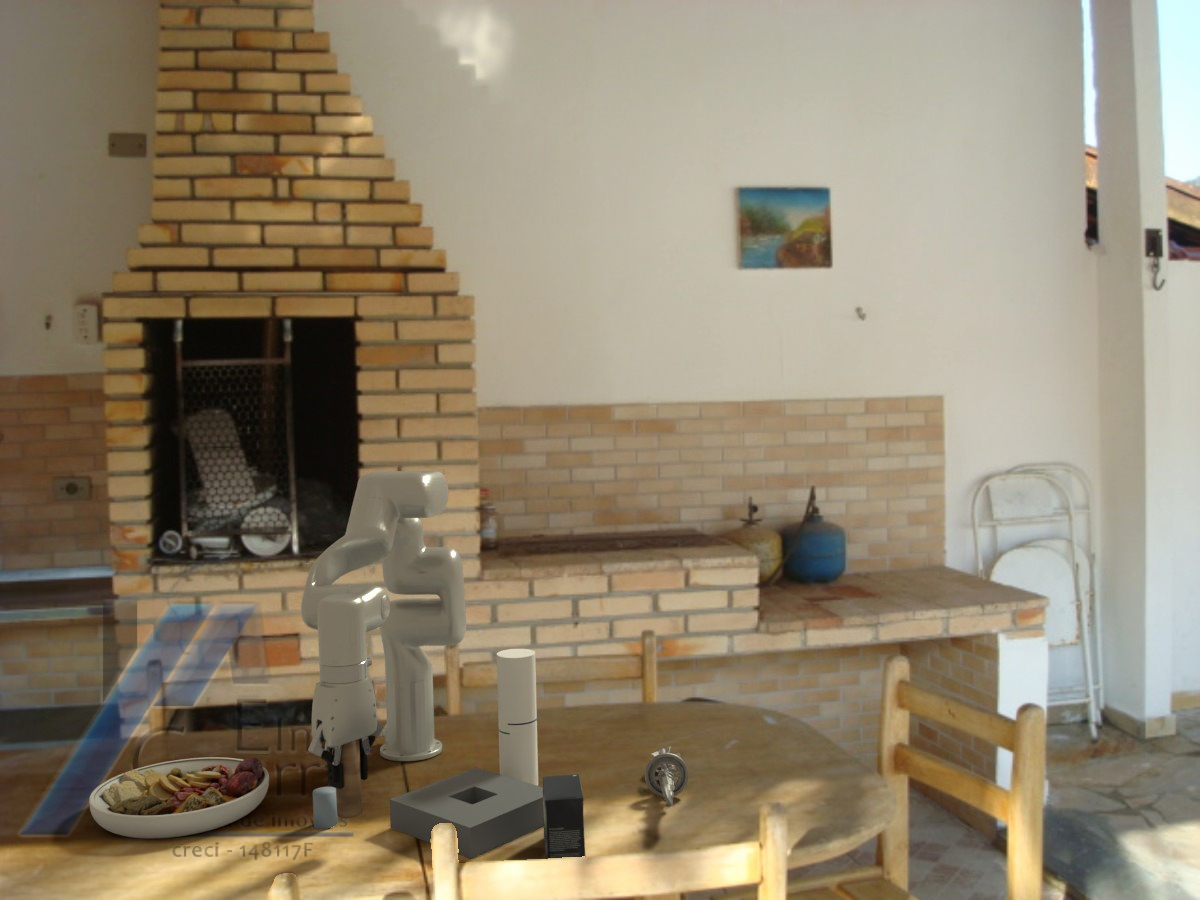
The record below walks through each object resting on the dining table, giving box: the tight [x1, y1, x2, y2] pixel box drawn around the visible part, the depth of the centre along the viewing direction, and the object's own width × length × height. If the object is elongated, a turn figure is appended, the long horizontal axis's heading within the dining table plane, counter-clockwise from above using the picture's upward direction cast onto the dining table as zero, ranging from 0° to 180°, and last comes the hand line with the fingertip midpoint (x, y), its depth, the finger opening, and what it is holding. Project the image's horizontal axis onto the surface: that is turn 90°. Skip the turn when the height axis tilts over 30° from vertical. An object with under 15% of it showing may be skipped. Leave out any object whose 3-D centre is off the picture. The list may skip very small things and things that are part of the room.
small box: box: [542, 773, 586, 859], centre depth 183 cm, size 11×6×10 cm, turn 5°
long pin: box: [336, 739, 363, 819], centre depth 184 cm, size 4×4×14 cm
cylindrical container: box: [496, 648, 539, 786], centre depth 211 cm, size 7×7×25 cm
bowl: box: [88, 756, 270, 839], centre depth 203 cm, size 30×30×8 cm
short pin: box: [312, 786, 339, 830], centre depth 195 cm, size 4×4×6 cm
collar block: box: [389, 767, 544, 859], centre depth 194 cm, size 20×20×5 cm
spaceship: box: [644, 745, 690, 807], centre depth 205 cm, size 8×35×8 cm
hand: (348, 781), depth 184 cm, fingers closed on long pin, 4 cm apart
